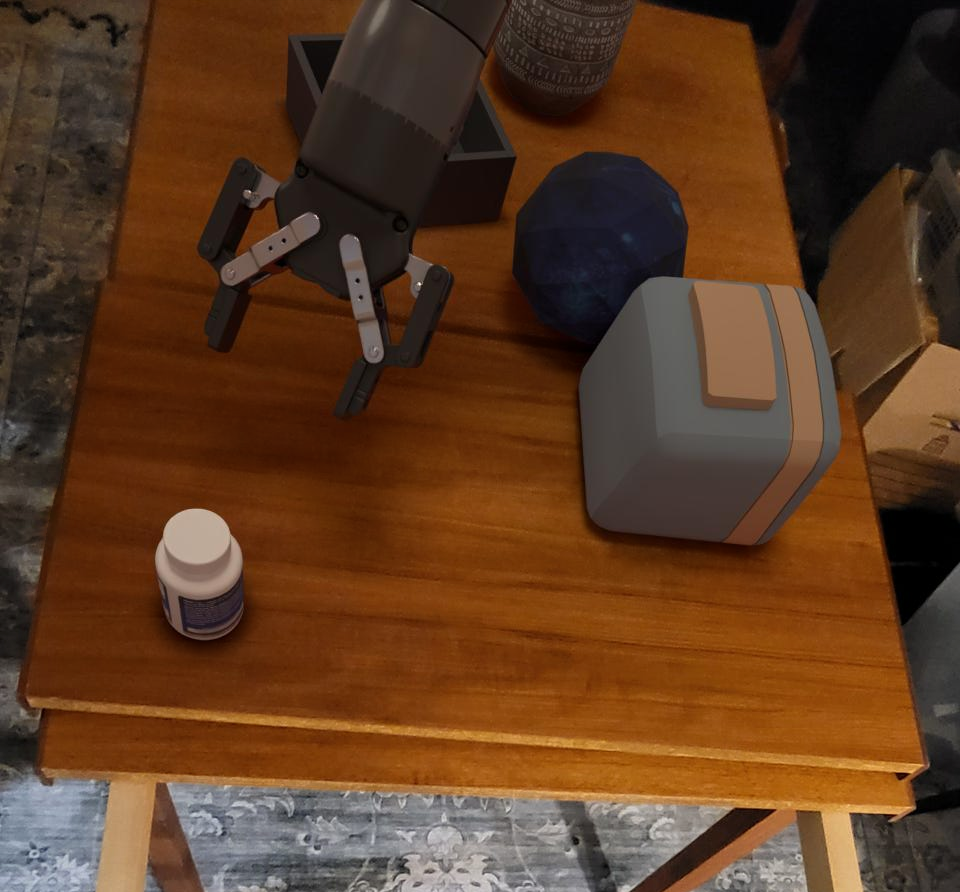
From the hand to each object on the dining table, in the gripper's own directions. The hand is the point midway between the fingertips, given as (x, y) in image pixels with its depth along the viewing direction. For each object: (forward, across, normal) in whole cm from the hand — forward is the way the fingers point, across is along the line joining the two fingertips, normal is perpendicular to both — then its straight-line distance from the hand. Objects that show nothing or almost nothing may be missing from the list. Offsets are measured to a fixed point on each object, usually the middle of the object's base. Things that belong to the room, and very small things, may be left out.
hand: (280, 384), depth 58 cm
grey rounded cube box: (-5, +25, +26) cm, 36 cm away
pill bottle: (+17, 0, +4) cm, 17 cm away
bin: (-17, -10, +37) cm, 42 cm away
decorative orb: (-13, +11, +33) cm, 37 cm away
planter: (-30, -3, +51) cm, 60 cm away
